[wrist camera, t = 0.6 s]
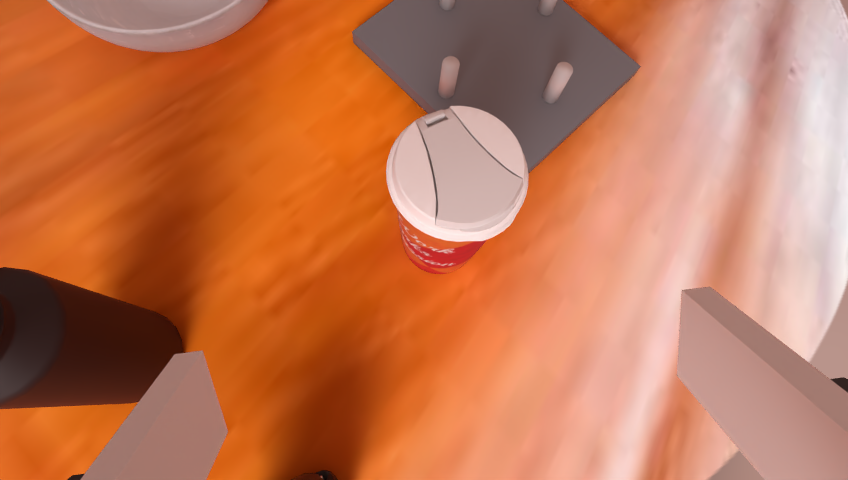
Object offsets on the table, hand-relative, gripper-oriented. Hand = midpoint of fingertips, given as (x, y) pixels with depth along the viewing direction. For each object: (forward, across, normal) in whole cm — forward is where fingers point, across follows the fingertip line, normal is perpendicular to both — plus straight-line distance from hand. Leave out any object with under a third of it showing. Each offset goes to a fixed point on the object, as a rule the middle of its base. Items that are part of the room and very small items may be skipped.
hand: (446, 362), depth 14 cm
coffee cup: (+28, +1, -7) cm, 29 cm away
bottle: (+22, -23, -11) cm, 34 cm away
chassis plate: (+38, +8, +6) cm, 40 cm away
